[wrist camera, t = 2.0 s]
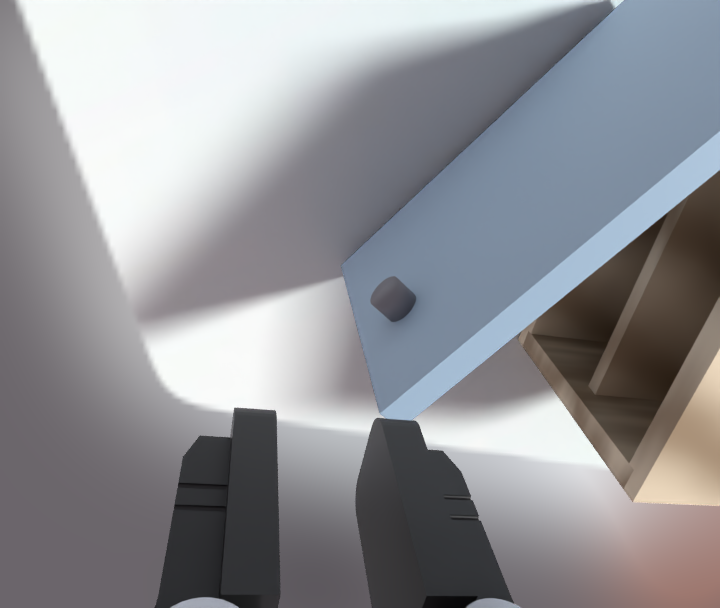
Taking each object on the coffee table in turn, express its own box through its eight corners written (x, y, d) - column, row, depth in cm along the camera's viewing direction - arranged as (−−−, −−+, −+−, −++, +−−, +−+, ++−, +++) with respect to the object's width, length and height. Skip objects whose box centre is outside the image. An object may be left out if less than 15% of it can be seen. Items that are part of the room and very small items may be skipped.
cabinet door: (627, -34, 28) (879, -48, 17) (650, 6, 29) (903, 20, 18) (326, 252, 33) (358, 396, 22) (355, 278, 34) (400, 429, 23)
